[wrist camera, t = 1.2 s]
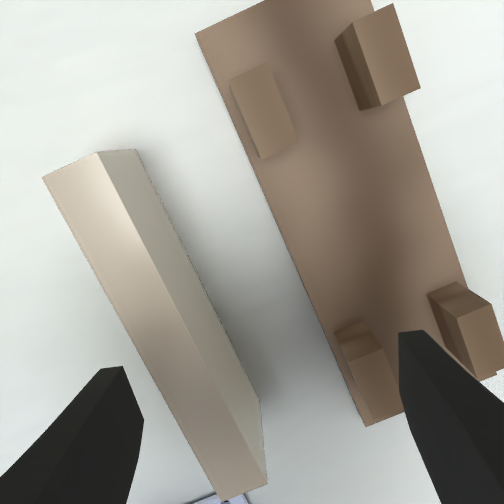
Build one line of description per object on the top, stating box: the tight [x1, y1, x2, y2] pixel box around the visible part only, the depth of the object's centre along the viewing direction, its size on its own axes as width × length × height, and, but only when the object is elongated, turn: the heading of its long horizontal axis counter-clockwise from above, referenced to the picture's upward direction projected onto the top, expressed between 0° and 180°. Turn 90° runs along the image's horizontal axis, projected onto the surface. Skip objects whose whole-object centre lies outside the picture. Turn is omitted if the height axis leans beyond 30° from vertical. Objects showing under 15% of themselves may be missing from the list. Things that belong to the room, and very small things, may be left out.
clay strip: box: [42, 149, 267, 502], centre depth 19 cm, size 2×14×6 cm, turn 24°
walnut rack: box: [195, 0, 504, 427], centre depth 19 cm, size 7×20×4 cm, turn 24°
